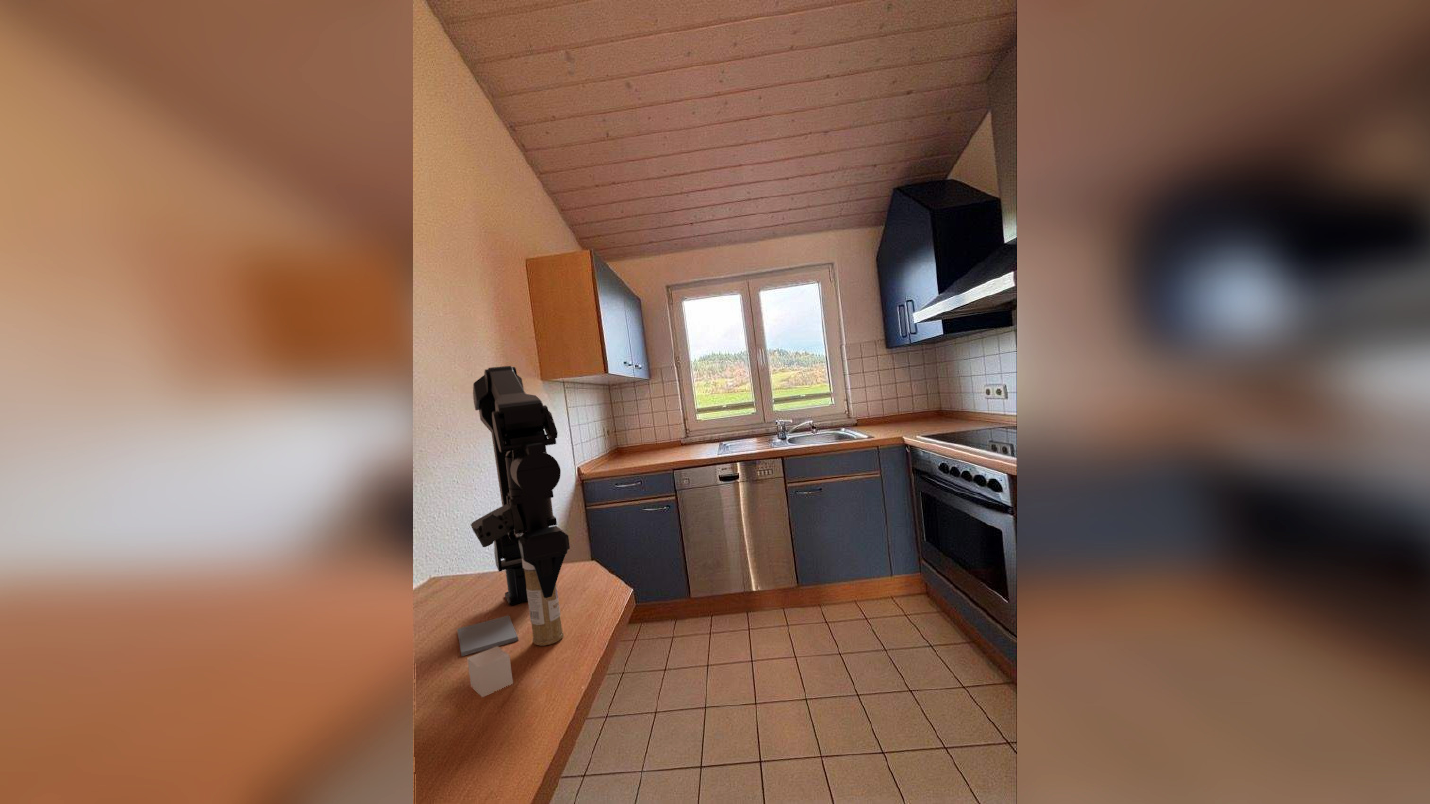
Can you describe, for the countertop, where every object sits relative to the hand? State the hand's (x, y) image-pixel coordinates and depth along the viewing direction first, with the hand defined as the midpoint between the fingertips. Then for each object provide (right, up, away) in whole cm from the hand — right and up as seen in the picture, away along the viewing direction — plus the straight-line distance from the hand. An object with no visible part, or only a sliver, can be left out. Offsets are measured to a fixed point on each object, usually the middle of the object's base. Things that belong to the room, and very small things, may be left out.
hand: (542, 587), depth 91 cm
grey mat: (-10, -9, +4) cm, 14 cm away
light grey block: (-3, -9, -12) cm, 15 cm away
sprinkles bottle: (+1, -8, +1) cm, 8 cm away
